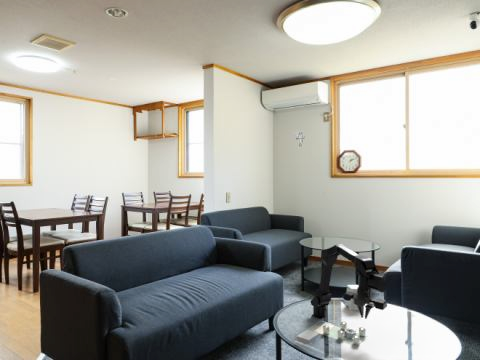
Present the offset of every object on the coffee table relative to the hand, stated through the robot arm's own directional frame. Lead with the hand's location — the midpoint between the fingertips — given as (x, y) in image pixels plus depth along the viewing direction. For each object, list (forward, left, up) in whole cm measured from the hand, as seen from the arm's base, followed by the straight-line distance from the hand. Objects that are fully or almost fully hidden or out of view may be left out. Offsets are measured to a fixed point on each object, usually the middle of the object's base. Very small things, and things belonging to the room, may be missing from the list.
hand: (364, 318), depth 159 cm
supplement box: (-19, +38, -12) cm, 45 cm away
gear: (-6, 0, -11) cm, 13 cm away
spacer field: (-9, 0, -11) cm, 14 cm away
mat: (-11, 0, -12) cm, 17 cm away
